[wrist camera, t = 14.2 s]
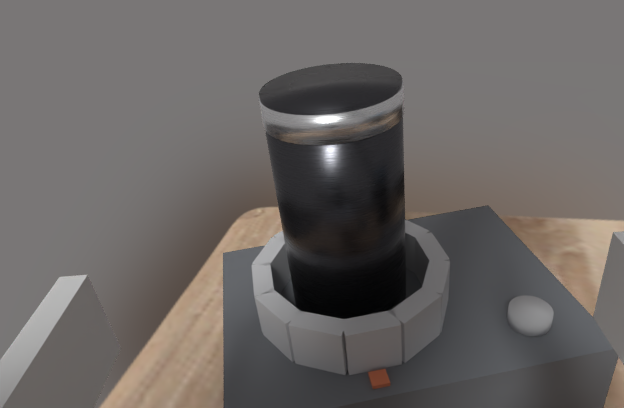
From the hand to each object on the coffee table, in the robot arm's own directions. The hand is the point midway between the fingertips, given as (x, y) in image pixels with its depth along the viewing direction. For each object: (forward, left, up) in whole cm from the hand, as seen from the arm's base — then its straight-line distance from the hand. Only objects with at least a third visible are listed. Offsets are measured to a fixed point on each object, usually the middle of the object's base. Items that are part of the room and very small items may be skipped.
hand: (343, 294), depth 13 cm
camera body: (-4, -11, -16) cm, 19 cm away
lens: (-2, -11, -10) cm, 14 cm away
